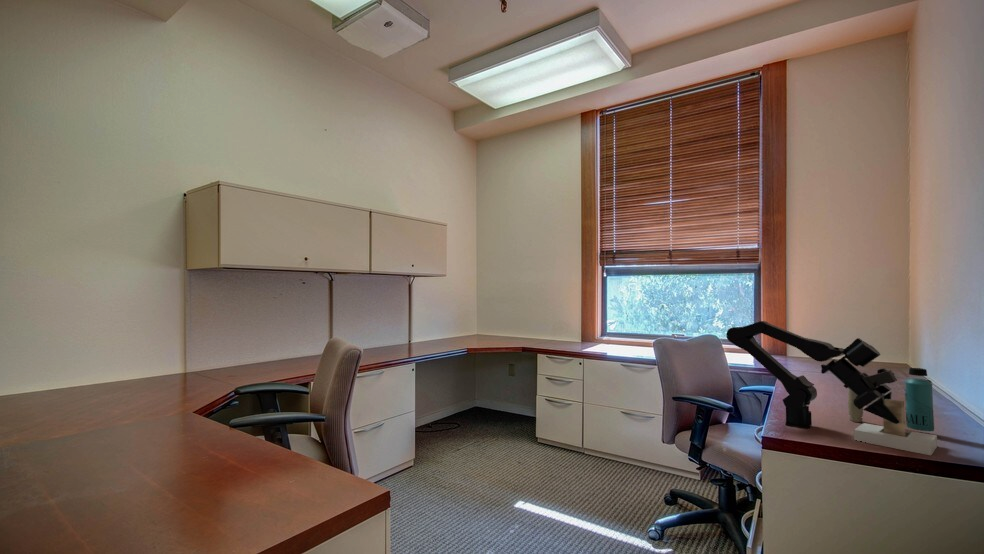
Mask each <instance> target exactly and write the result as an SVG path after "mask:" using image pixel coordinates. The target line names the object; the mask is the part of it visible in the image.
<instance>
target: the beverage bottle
mask: <svg viewBox="0 0 984 554" xmlns="http://www.w3.org/2000/svg"><path fill="white" fill-rule="evenodd" d="M908 375H910V376H917V377H928V371H927V369H926V368H921V367H909V369H908ZM904 384H905V385H904V386H905V387H904V400H905V407H904V410H905V426H906V427H907V428H909V429H911V430H914V431H915V430H916V431H923V432H934V430H935V416H934V415H935V414H934V399H933V395H934V393H933V383H932V382H931V381H929V380H928V379H924V378H914V377H910V378H908V379H906V380H905V381H904Z"/></svg>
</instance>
